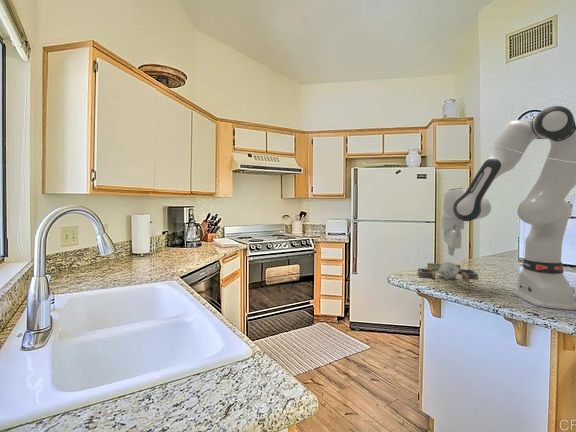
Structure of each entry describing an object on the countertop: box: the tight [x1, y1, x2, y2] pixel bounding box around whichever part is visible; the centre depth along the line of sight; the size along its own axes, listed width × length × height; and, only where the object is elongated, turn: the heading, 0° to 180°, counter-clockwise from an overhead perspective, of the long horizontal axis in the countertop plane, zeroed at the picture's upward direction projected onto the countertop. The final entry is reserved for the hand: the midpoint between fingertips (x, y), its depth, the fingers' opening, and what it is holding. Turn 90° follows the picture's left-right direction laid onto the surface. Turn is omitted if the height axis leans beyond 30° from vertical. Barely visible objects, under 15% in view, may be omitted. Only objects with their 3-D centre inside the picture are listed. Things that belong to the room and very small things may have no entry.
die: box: [437, 261, 461, 280], centre depth 151 cm, size 8×9×10 cm
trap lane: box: [417, 262, 479, 283], centre depth 156 cm, size 19×26×4 cm
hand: (451, 255), depth 143 cm, fingers closed
